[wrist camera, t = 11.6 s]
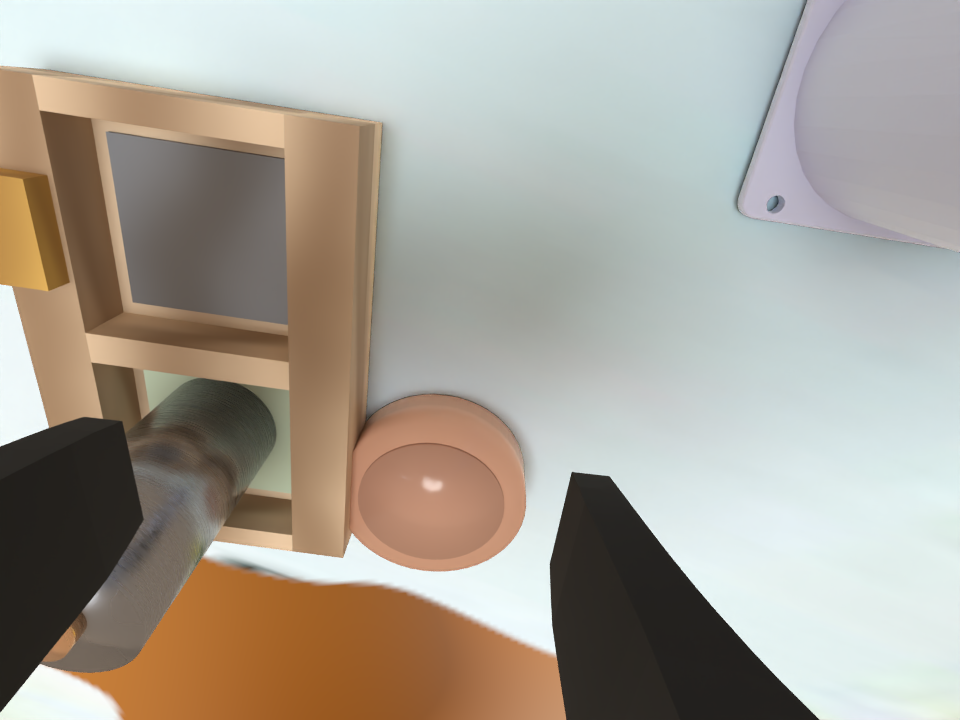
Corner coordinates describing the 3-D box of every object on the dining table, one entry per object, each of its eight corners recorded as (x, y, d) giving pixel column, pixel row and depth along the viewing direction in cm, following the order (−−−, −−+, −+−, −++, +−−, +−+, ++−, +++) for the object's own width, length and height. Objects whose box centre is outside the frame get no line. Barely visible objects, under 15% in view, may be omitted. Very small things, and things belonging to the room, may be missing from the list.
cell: (269, 380, 18) (100, 581, 11) (282, 472, 20) (146, 702, 12) (155, 373, 18) (-95, 569, 11) (179, 466, 20) (-21, 691, 12)
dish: (539, 408, 20) (543, 441, 18) (508, 544, 23) (509, 584, 21) (354, 382, 20) (338, 412, 18) (348, 522, 23) (334, 561, 21)
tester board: (382, 122, 16) (351, 127, 12) (360, 506, 22) (337, 575, 19) (43, 69, 15) (-80, 59, 12) (123, 474, 22) (57, 538, 19)
